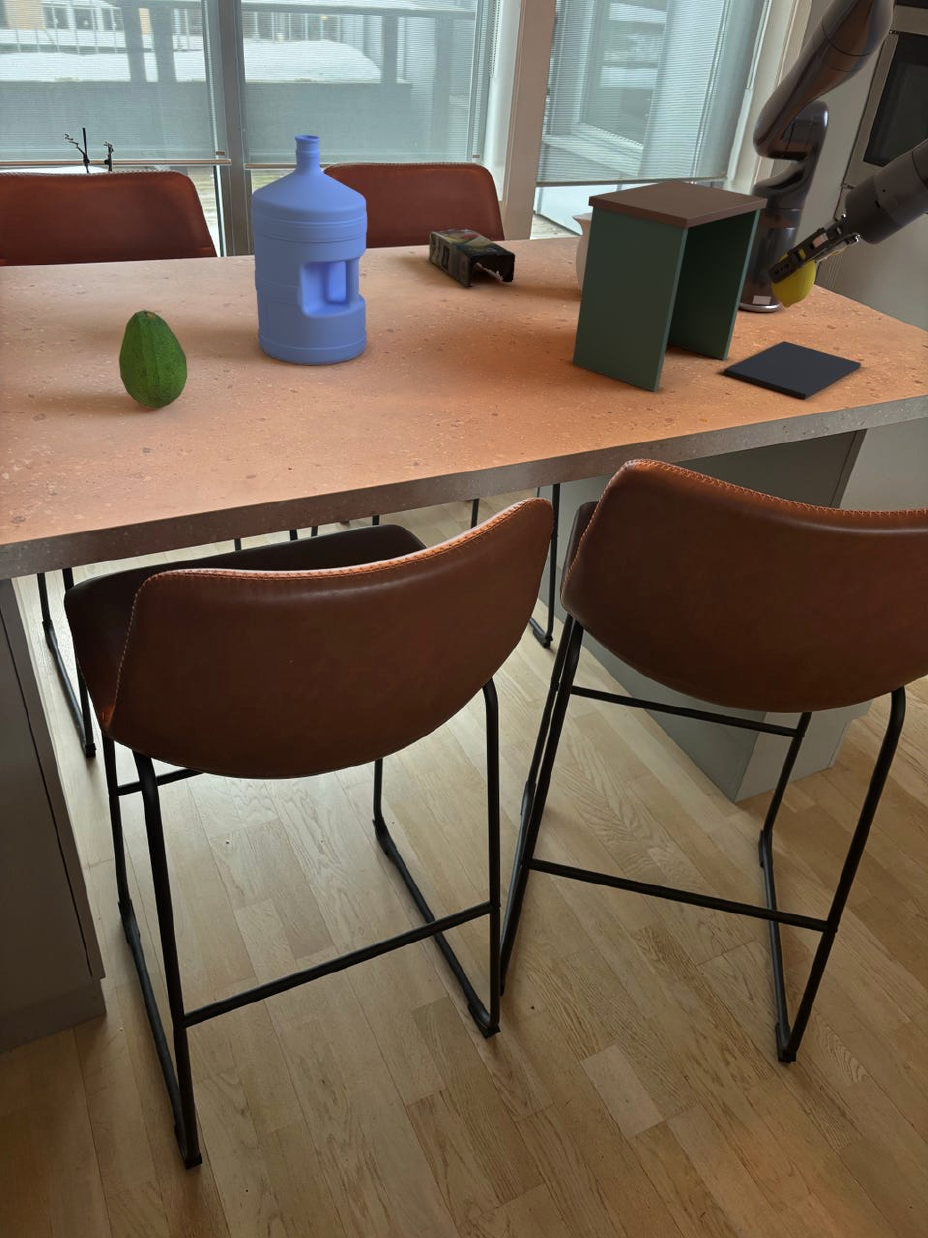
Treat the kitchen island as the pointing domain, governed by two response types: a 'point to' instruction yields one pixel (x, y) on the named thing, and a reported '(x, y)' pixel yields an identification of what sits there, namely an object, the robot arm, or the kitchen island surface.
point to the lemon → (795, 284)
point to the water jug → (309, 264)
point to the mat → (793, 369)
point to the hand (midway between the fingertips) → (782, 273)
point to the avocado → (152, 361)
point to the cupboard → (662, 276)
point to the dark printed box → (469, 255)
